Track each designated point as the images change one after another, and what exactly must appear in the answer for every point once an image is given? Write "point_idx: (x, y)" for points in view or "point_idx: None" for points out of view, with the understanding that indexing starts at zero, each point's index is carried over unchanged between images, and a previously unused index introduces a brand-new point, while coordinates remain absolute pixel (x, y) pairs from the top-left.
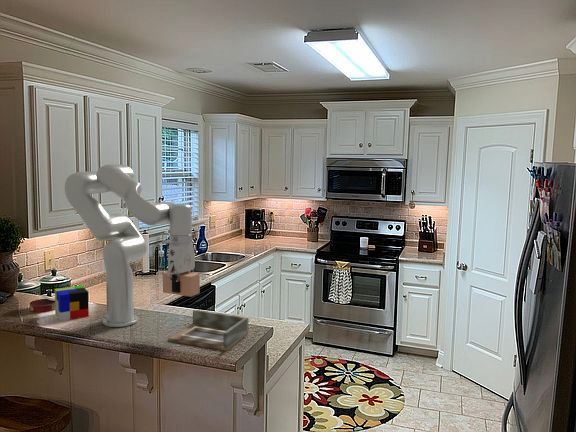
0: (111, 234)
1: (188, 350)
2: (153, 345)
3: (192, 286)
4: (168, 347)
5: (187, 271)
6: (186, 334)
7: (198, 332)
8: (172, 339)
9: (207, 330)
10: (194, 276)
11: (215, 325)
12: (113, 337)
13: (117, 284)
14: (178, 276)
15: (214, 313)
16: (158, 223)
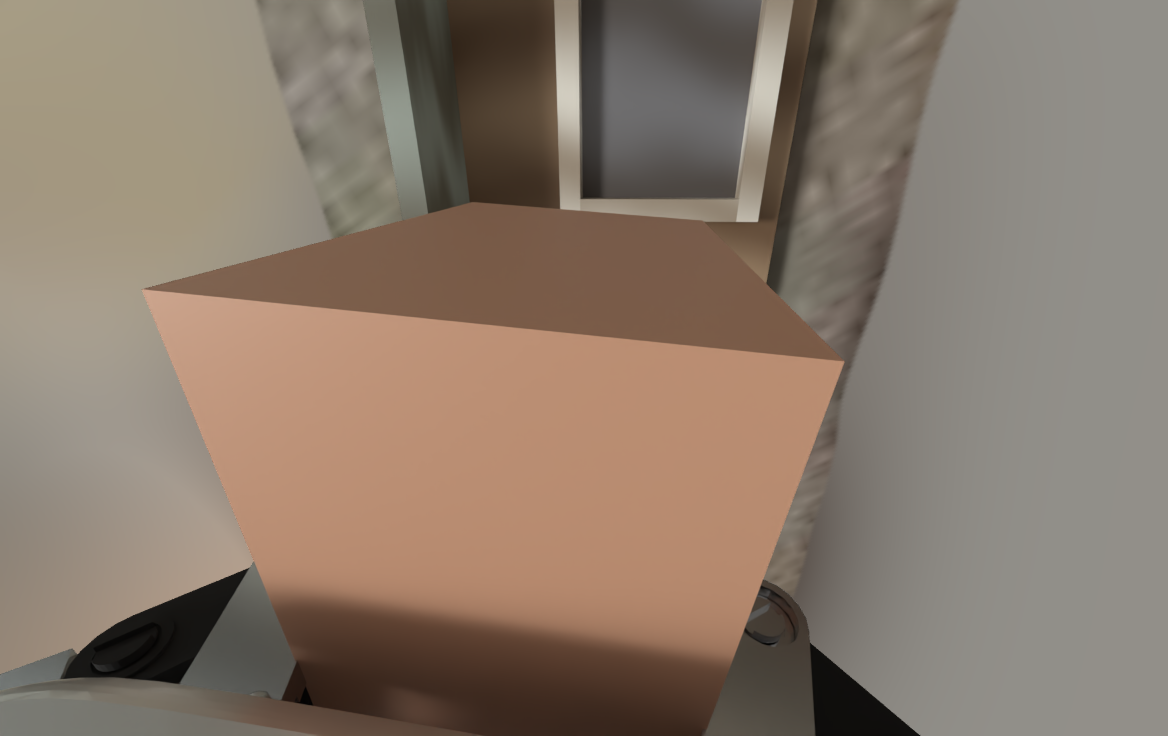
0: None
1: (900, 63)
2: (847, 332)
3: (678, 248)
4: (864, 233)
5: (413, 723)
6: (712, 199)
7: (615, 155)
8: (768, 265)
9: (579, 90)
10: (556, 314)
11: (452, 96)
12: (781, 542)
13: None
14: (775, 713)
15: (405, 96)
16: None
